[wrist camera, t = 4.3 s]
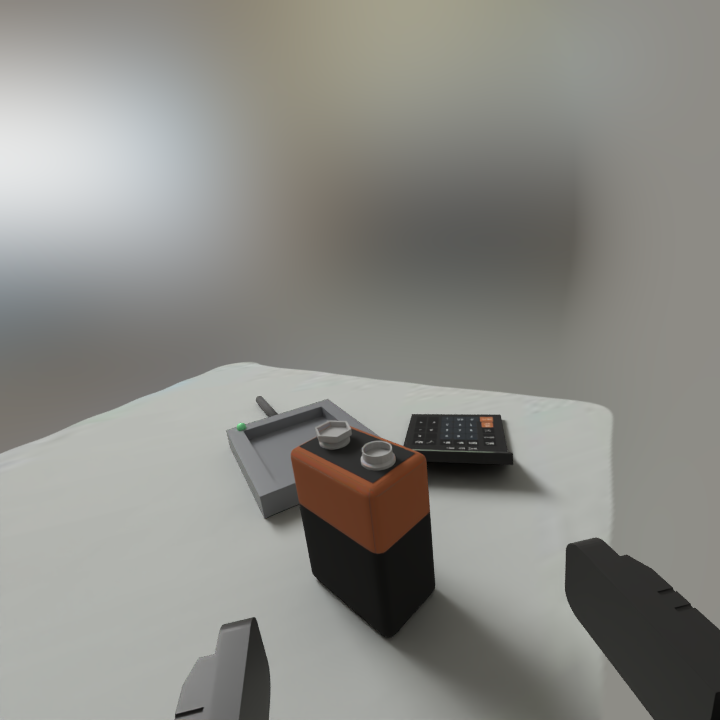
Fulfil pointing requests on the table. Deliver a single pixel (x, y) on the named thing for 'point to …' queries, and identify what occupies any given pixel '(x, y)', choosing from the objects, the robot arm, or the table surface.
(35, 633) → the table surface
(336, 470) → the battery
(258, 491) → the charging cradle
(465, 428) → the calculator
